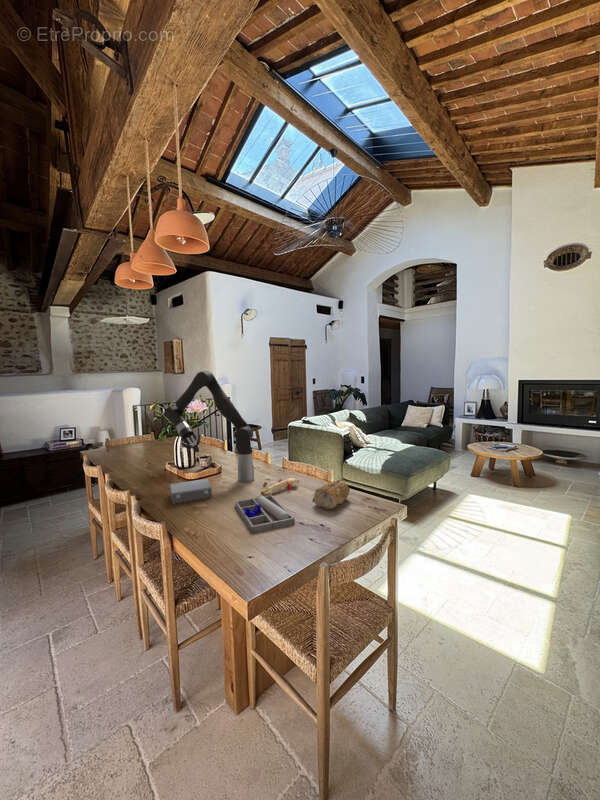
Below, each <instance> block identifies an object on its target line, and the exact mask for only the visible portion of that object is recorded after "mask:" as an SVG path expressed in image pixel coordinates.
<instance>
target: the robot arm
mask: <svg viewBox="0 0 600 800" xmlns="http://www.w3.org/2000/svg"><path fill="white" fill-rule="evenodd" d="M204 387H206V389H208V391H209V392H210V393H211V397H213V402H214V405H215V407H216V409H217V411H218V412H219V413H220V414H221V415H222V417H224V418H225V420H227V421H228V422H230V423H231V425H233V426H234V428H235V429H236V432H235V436H234V437H235V438H234V440H235V448H236V451H237V452H236V454H237V480H238V482H239V483H251V482H252V480H253V481H255V466H254V463H253V461H254V460H253V455H254V454H253V447H252V446H251V440H252V439H253V437H254V430H253V429H252V427H251V426H250V425H249V424H248V423H247V421H246V420H245V419H244V418H243V417H242V415H241V414H240V413H239V411H238V410H237V408H236V406H235V405H234V403H233V402H232V401H231V400H230V398H229V396H228V395H227V394H226V393H225V391H224V390H223V388H222V387H221V385H220V384H219V382H218V380H217V379H216V377H215V375H214V374H213V372H212V371H209V370H203V371H199V372H197V373H196V374H195V376H194V377H193V379H192V381H191V382H190V384H189V386H188V387H187V388H186V390H185V391H184V392H183V393H182V394H181V396H180V397H178V398H177V400H176V402H175V406H176V407H175V406H168V407H166V408H165V411H164V414H165V415H164V416H165V417H166V418H167V419H168V420H169V421H170V422H171V423H172V424H173V425H174V427H175V429H176V430H177V433H178V435H179V436H180V438H181V439H182V442H181V443H180V445H181V447H182V448H184V449H188V450H191V449H192V450H193V452H194V453H196V454H197V453H199V452H200V448H199V446H200V443H201V439H202V437H201V435H200V434H199V435H198V434H196V433H195V432H194V431H193V429H192V428H191V426H190V425H189V424H188V422H187V421H186V419H185V418H184V417H183V415H184V413H185V410H186V409H187V407H189V405H190V404H191V403H192V402H193V399H194V398H195V396H196V394H197V393H198V392H199V391H200V390H201V389H202V388H204Z"/></svg>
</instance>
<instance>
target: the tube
mask: <svg viewBox="0 0 600 800" xmlns="http://www.w3.org/2000/svg"><path fill="white" fill-rule="evenodd" d="M264 496H265V495H261V494H260V495H258V497H256V498H257V500H256V502H257V503H258V504H259V505H261V508H262V509H263V510H264V511H265V512H266V513H269V514H270V515H272V516H273V517H274V518H275V519H277V521H280V520H285V519H289V513H290V512H289V511H288V512H289V513H288V512H286V511H285V510H283V509H282V508H280V507H279V506H277V505H276V504H274V503H273V502H272V501H270V500H268V499H267V498H266V497H264Z"/></svg>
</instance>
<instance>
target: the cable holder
mask: <svg viewBox="0 0 600 800" xmlns="http://www.w3.org/2000/svg"><path fill="white" fill-rule="evenodd" d="M261 508H262V507H261V505H259V504H257V505H255V509H254V510H253V511H249V509H247V508H246V509H244V513H245V514H246V516H247V517H248V518H251V517H256V516H259V514H260V513H261ZM260 515H261V514H260Z"/></svg>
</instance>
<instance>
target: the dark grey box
mask: <svg viewBox="0 0 600 800" xmlns="http://www.w3.org/2000/svg"><path fill="white" fill-rule="evenodd" d="M169 487H170V486H169ZM212 489H213V488H212ZM212 489H208V490H202V491H195V492H189V493H182V494H176V495H172V492H171V487H170V489H169V490H170V500H171V505H175V504H174V503H177V504H181V503H180V502H184V503H187V502H186V501H190V502H193V501H192V500H196V501H199V500H198V499H202V500H206V499H205V498H208V499H212V498H213V495H212V493H213V492H212Z"/></svg>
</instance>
